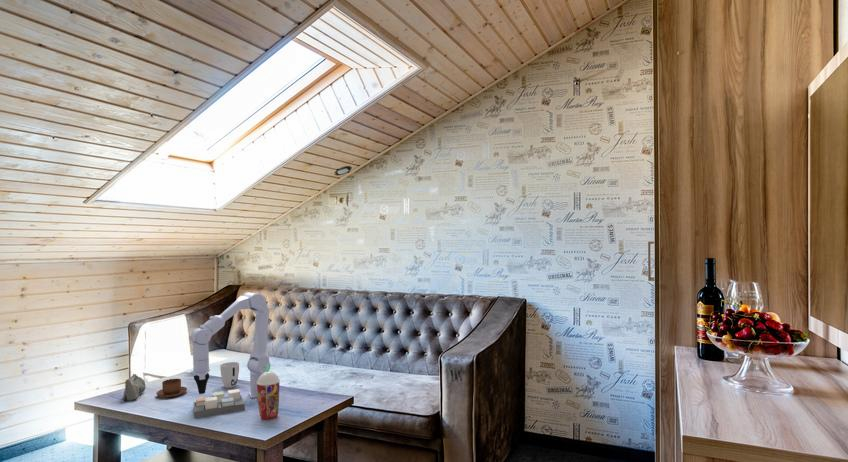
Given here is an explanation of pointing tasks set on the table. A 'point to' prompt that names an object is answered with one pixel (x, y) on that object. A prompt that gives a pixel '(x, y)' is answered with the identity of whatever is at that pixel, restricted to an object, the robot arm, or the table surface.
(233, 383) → the cup
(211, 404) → the cream key
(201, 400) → the terracotta key
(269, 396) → the smoothie
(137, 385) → the mineral rock
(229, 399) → the blue key
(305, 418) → the table surface
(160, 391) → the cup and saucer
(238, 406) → the keypad board
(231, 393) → the cream key
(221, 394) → the sage key
